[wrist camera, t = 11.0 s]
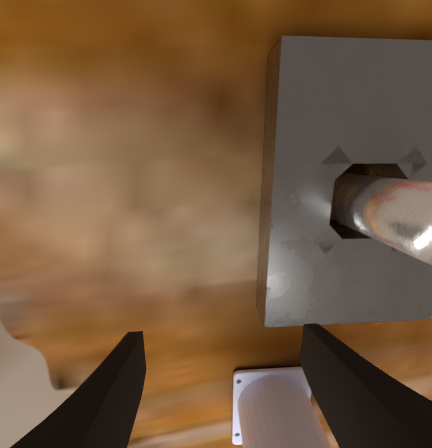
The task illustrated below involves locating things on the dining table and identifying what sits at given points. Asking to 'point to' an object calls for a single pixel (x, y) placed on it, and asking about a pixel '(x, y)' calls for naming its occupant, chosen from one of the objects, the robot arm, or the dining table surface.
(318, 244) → the dock plate
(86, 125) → the dining table surface
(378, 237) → the steel peg
